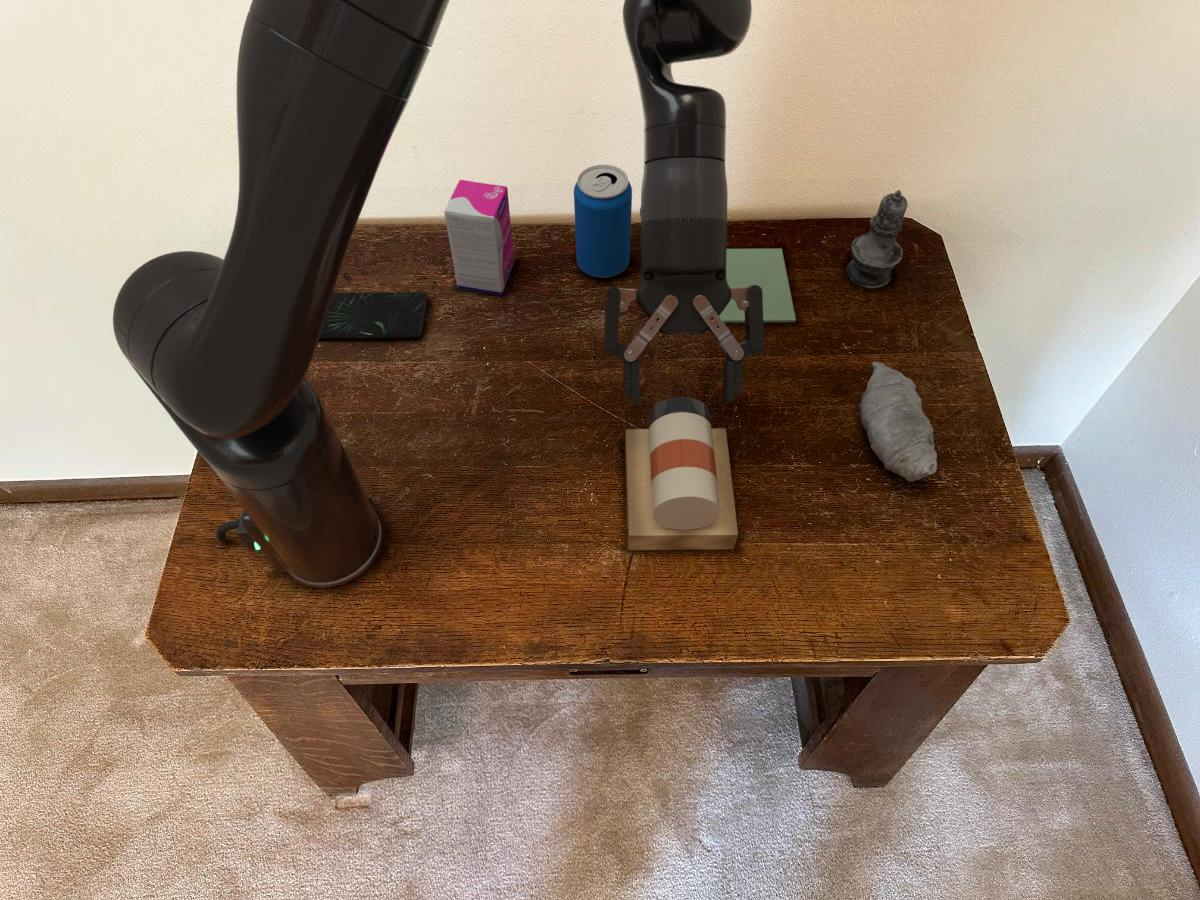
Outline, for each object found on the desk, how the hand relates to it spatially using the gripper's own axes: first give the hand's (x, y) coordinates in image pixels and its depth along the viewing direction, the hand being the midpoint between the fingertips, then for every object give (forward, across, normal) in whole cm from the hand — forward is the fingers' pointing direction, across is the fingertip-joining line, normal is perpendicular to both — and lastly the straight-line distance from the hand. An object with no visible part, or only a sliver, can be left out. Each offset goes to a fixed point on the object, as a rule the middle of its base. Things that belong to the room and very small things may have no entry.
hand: (682, 401), depth 73 cm
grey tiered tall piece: (-12, +25, +26) cm, 38 cm away
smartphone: (-7, -35, +21) cm, 41 cm away
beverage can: (-13, -7, +27) cm, 31 cm away
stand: (+10, 0, +4) cm, 11 cm away
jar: (+8, 0, +2) cm, 8 cm away
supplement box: (-12, -21, +26) cm, 35 cm away
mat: (-11, +9, +24) cm, 28 cm away
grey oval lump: (+5, +22, +9) cm, 24 cm away
